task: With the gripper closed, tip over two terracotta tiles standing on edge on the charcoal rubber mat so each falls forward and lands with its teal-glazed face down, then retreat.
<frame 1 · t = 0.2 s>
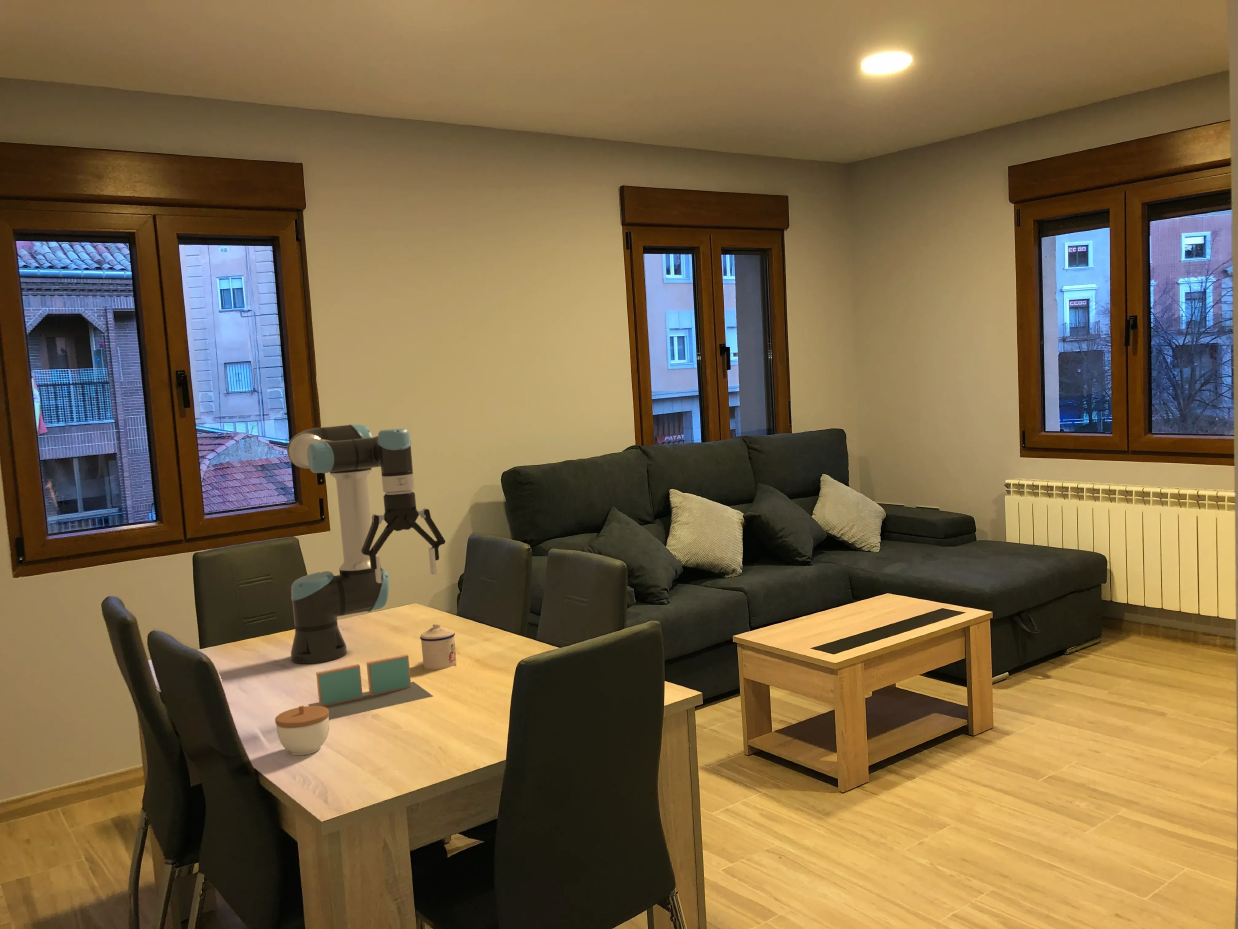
hand: (406, 578, 245), 28 cm above the table, fingers open, 13 cm apart
tile far: (390, 690, 244), point 1 cm above the table, touching mat
lidded jar: (305, 751, 209), on the table
mat: (370, 702, 238), on the table
tile near: (341, 701, 238), point 1 cm above the table, touching mat
teacup with lid: (440, 666, 266), on the table
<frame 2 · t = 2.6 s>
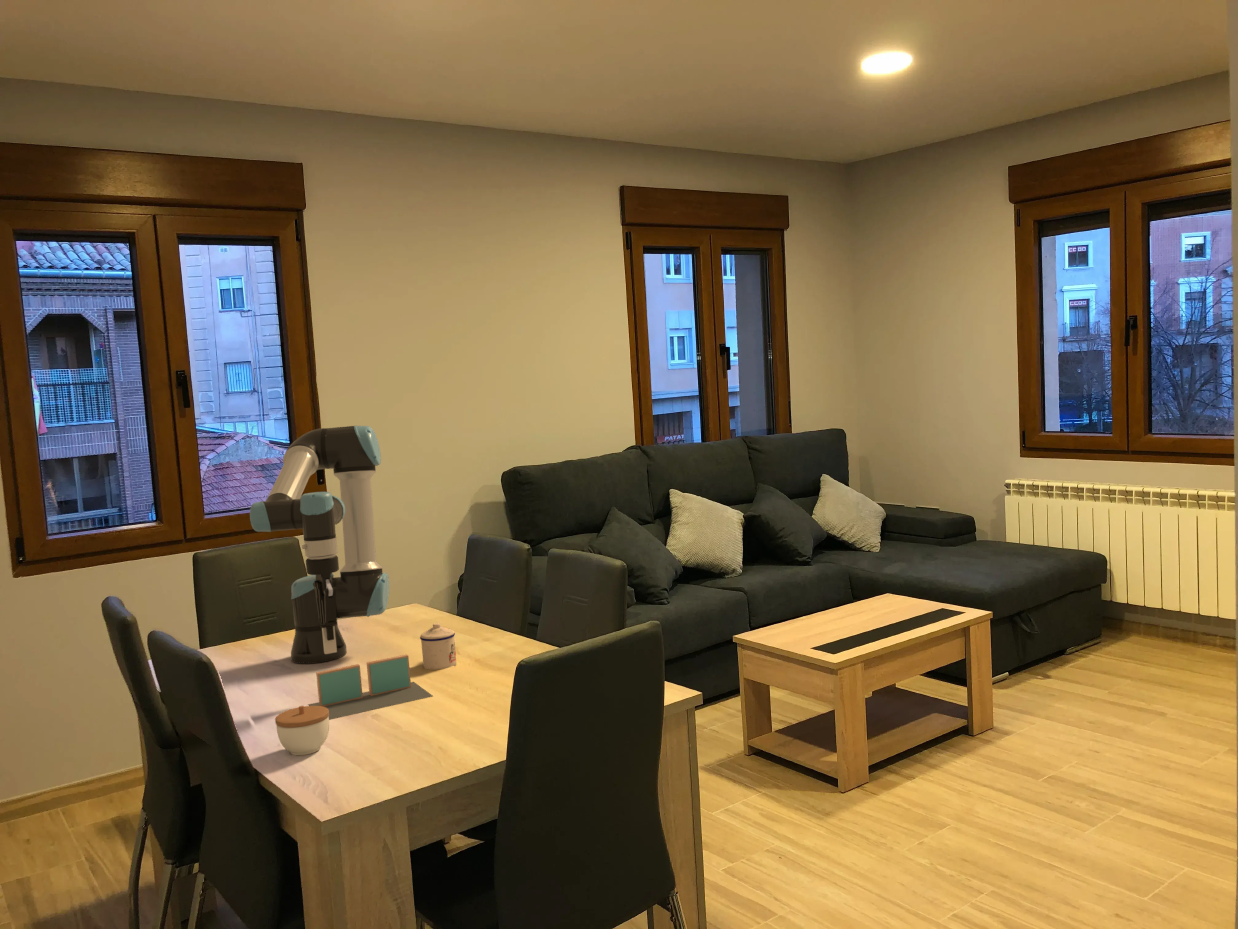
hand: (330, 652, 242), 11 cm above the table, fingers closed
nothing on the table moved.
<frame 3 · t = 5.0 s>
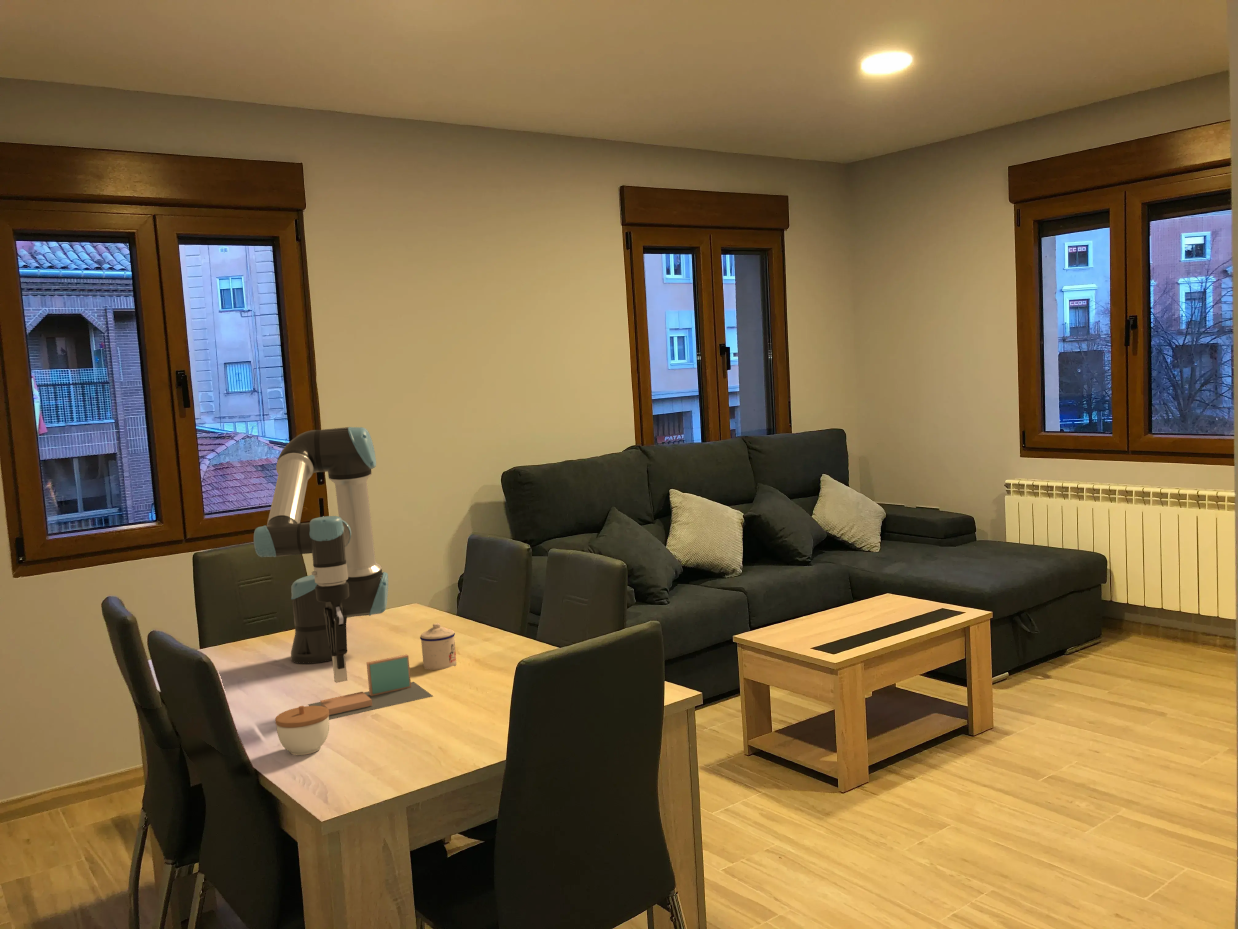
hand: (341, 681, 236), 6 cm above the table, fingers closed
tile near: (341, 698, 237), point 1 cm above the table, tilted 90°, touching mat
everything else where it was.
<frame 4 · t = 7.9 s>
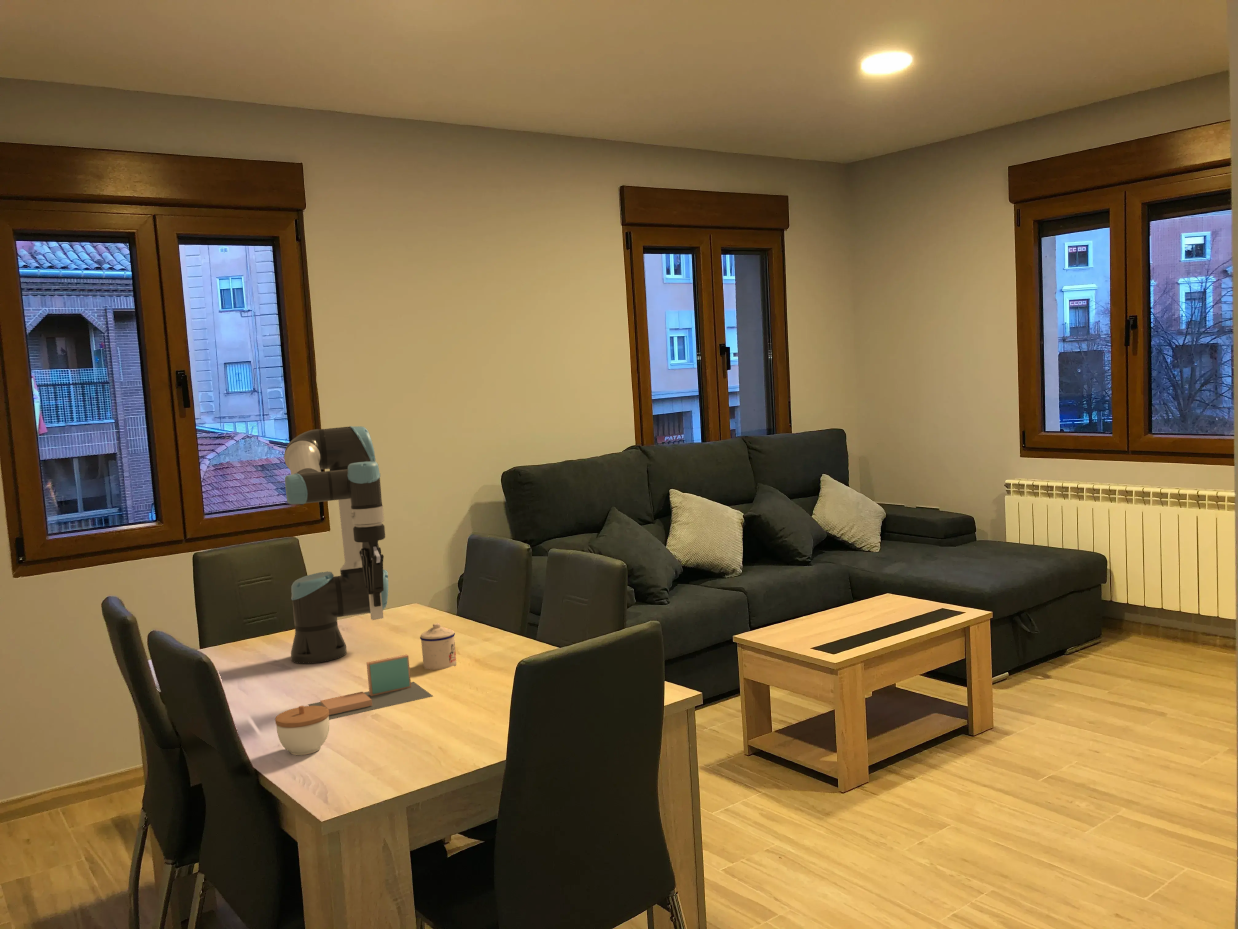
hand: (377, 618, 248), 18 cm above the table, fingers closed
nothing on the table moved.
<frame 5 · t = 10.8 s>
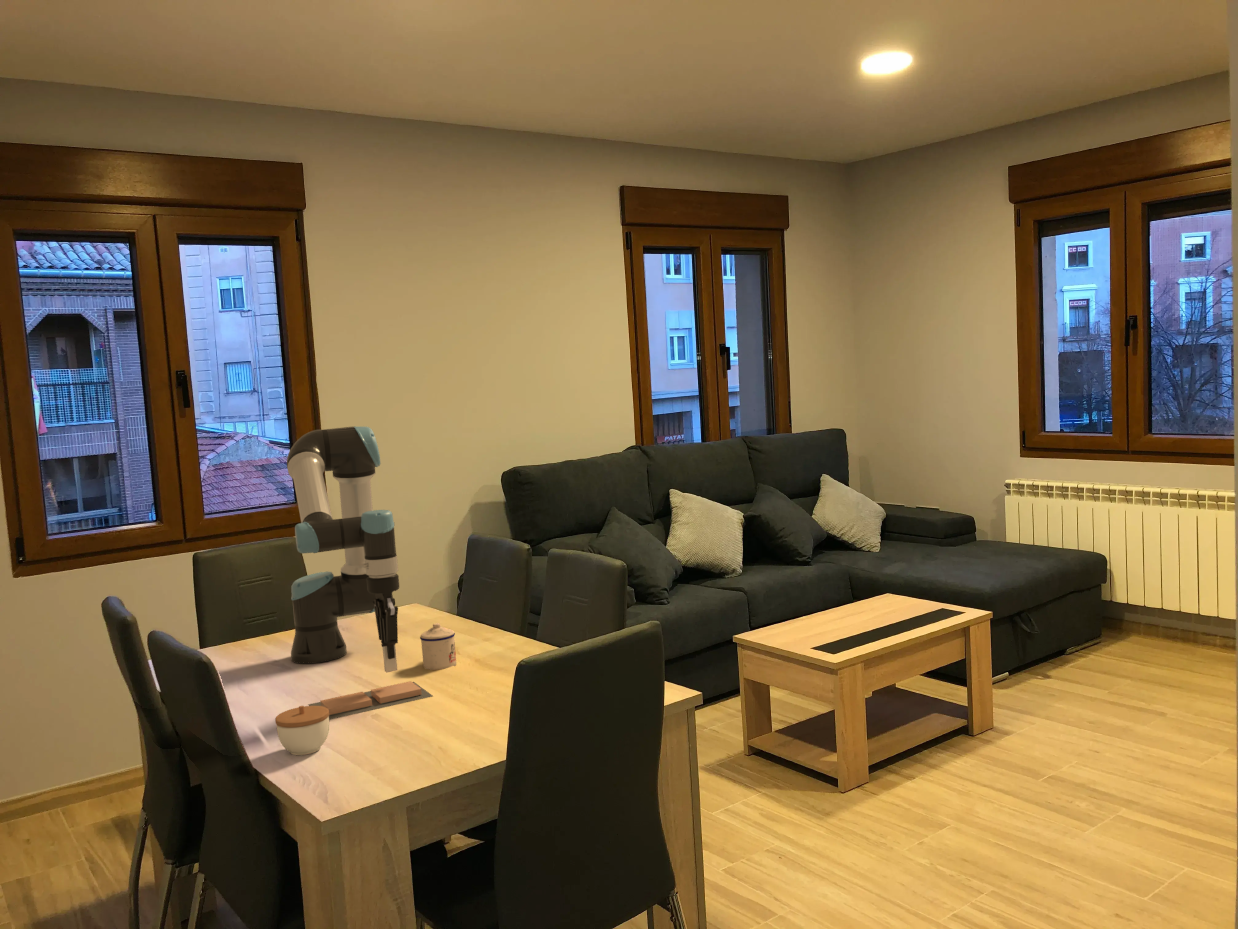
hand: (391, 670, 242), 6 cm above the table, fingers closed
tile far: (391, 688, 243), point 1 cm above the table, tilted 90°, touching mat
everything else where it was.
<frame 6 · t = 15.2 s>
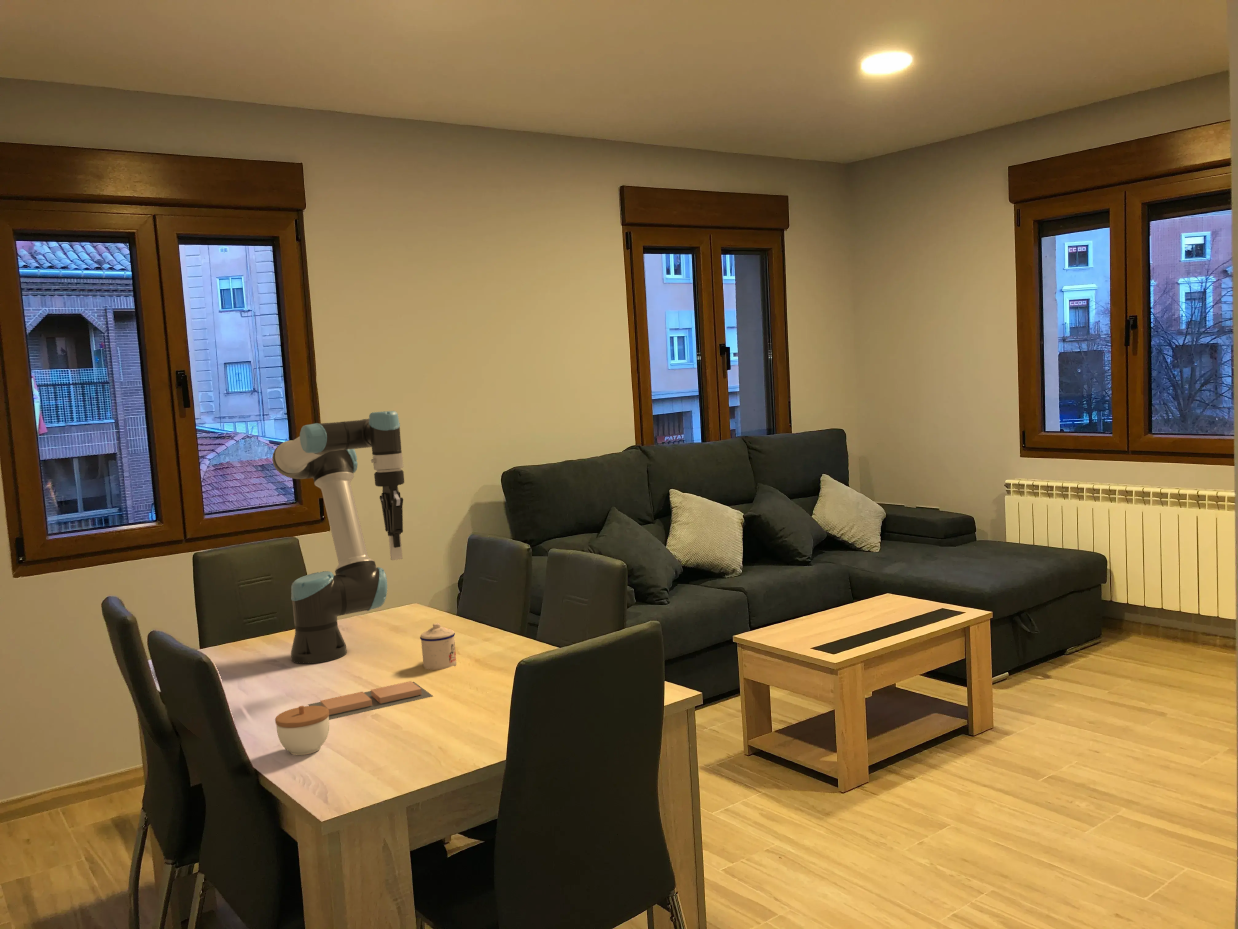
hand: (396, 559, 263), 29 cm above the table, fingers closed
nothing on the table moved.
at the end: tile near tilted 90°; tile far tilted 90°; tile near inside the target area (4.1 cm from its centre), point 1.5 cm above the table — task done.
